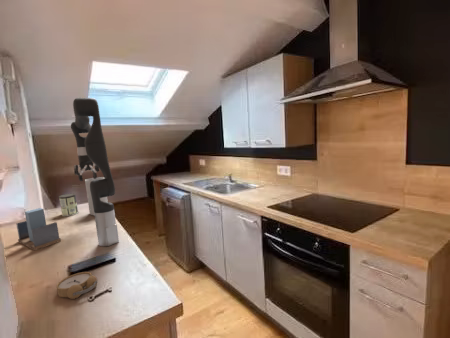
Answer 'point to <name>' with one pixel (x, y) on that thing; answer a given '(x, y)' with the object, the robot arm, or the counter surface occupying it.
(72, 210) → the coffee can
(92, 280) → the alarm clock
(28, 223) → the book
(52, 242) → the book stand
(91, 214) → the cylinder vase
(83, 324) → the counter surface
